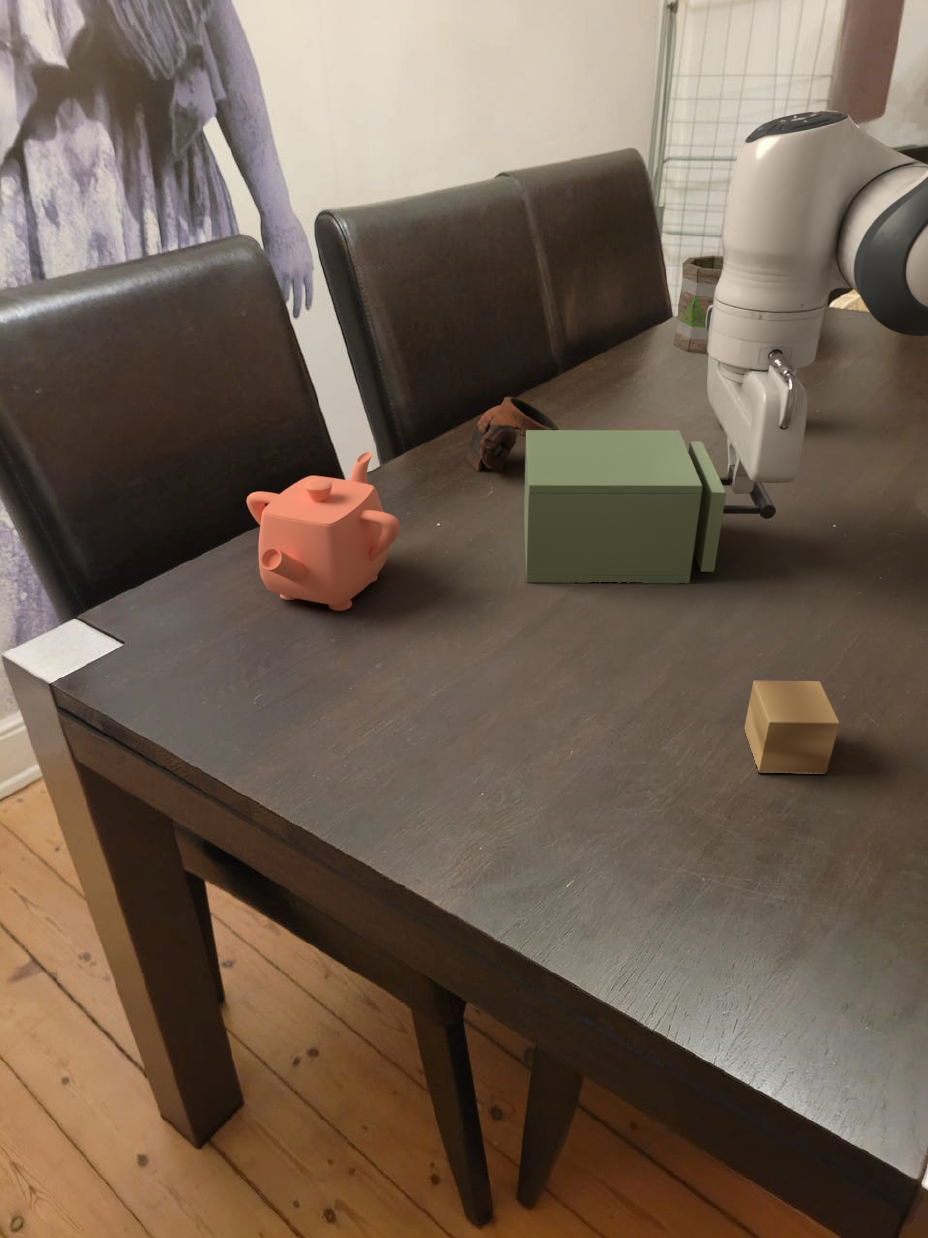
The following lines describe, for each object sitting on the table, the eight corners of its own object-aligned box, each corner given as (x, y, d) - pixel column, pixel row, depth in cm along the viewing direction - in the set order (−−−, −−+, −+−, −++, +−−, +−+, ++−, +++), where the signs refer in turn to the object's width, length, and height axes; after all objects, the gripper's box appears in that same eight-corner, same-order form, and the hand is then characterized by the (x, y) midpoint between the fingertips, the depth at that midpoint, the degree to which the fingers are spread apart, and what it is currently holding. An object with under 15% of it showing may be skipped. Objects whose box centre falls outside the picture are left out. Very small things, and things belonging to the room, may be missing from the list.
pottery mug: (473, 446, 111) (509, 387, 108) (538, 490, 110) (575, 432, 107) (440, 459, 100) (478, 393, 97) (511, 508, 100) (552, 443, 96)
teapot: (412, 615, 79) (406, 508, 74) (272, 639, 76) (256, 529, 71) (377, 541, 90) (369, 443, 85) (254, 560, 88) (238, 460, 82)
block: (807, 732, 65) (820, 680, 63) (826, 775, 62) (840, 722, 59) (743, 731, 66) (753, 680, 63) (757, 774, 62) (768, 722, 59)
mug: (658, 344, 144) (667, 263, 137) (699, 330, 150) (709, 252, 143) (746, 366, 134) (760, 280, 127) (786, 350, 140) (801, 267, 134)
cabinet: (668, 520, 93) (679, 429, 88) (689, 583, 83) (702, 485, 78) (523, 519, 94) (526, 429, 89) (526, 582, 83) (528, 484, 78)
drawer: (745, 515, 92) (757, 441, 88) (772, 572, 82) (788, 492, 78) (557, 514, 93) (560, 440, 89) (562, 570, 83) (566, 491, 79)
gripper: (839, 374, 68) (804, 541, 75) (772, 303, 85) (749, 444, 93) (753, 374, 68) (726, 540, 76) (703, 303, 85) (685, 444, 93)
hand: (738, 487), depth 84 cm, fingers closed
